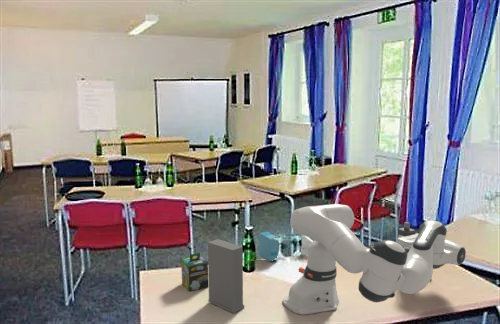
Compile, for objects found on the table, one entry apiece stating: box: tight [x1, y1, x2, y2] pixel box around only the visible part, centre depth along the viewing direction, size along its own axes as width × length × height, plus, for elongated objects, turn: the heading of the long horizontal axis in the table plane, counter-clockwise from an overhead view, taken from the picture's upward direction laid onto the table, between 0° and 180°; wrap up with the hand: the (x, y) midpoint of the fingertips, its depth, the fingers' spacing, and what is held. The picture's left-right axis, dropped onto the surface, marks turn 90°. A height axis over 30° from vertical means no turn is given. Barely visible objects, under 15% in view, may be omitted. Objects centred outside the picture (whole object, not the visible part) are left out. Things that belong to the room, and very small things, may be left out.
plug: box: [397, 221, 416, 254], centre depth 209 cm, size 5×5×13 cm
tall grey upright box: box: [207, 238, 245, 314], centre depth 182 cm, size 14×6×25 cm, turn 48°
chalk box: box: [180, 252, 209, 292], centre depth 201 cm, size 9×9×15 cm
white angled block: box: [300, 235, 314, 257], centre depth 238 cm, size 4×10×9 cm
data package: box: [258, 231, 279, 262], centre depth 233 cm, size 12×4×12 cm, turn 27°
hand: (404, 235), depth 210 cm, fingers closed on plug, 5 cm apart
